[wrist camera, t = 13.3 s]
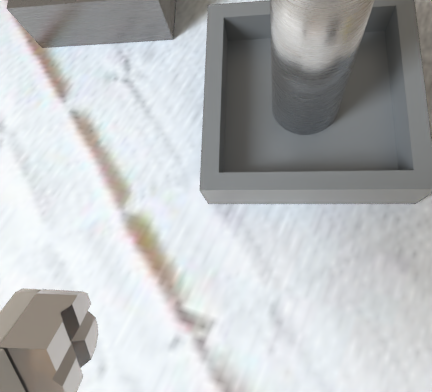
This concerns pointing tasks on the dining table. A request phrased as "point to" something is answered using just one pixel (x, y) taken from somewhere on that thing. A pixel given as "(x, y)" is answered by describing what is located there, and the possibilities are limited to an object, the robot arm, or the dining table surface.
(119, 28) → the socket
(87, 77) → the dining table surface
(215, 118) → the tray
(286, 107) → the pin
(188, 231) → the dining table surface
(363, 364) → the dining table surface
